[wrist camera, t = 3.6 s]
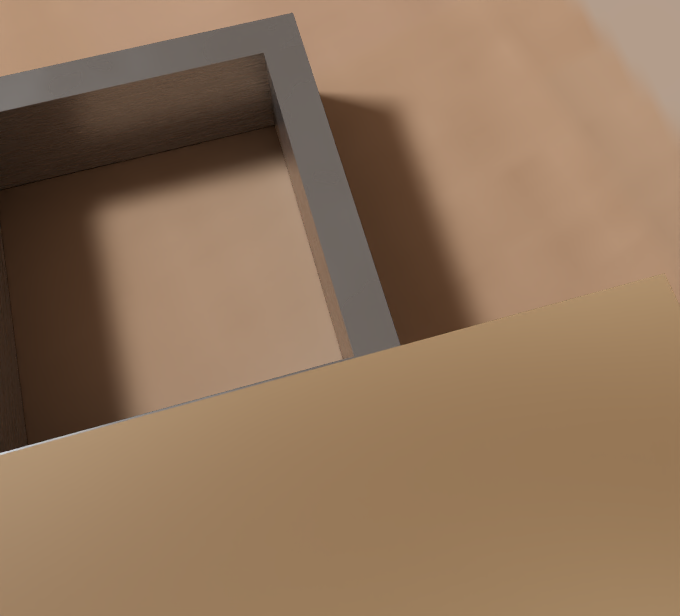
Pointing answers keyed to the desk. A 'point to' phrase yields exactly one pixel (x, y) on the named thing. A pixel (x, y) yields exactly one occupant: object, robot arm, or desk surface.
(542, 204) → the desk surface
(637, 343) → the rectangular block
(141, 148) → the grey square tray
